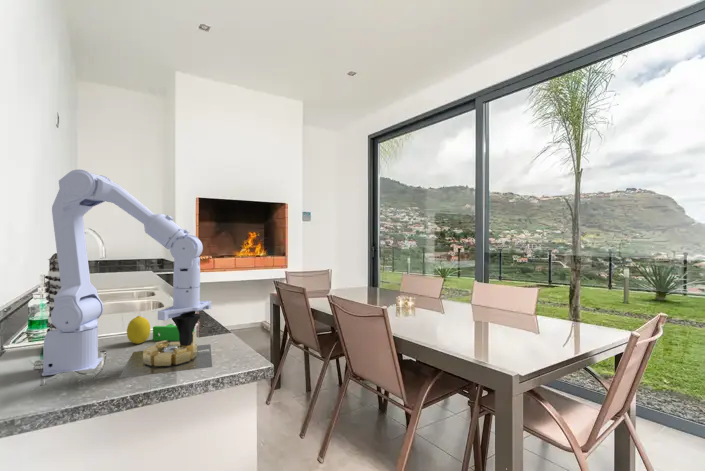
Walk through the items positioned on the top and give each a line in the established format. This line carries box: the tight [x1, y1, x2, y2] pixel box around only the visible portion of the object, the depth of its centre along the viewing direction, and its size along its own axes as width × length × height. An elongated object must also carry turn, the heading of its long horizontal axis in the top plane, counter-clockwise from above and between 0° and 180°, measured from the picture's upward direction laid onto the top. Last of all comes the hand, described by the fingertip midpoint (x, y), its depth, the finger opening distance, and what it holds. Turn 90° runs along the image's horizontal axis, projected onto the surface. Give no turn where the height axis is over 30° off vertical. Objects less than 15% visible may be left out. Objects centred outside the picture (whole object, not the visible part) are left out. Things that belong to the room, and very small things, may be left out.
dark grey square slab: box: [118, 343, 213, 379], centre depth 88 cm, size 18×18×3 cm
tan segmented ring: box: [142, 331, 198, 366], centre depth 88 cm, size 11×11×6 cm
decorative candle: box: [44, 252, 61, 333], centre depth 98 cm, size 9×9×25 cm
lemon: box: [126, 315, 151, 345], centre depth 101 cm, size 6×6×8 cm
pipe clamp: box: [152, 323, 195, 342], centre depth 105 cm, size 11×4×5 cm, turn 89°
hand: (186, 344), depth 87 cm, fingers closed, pressing on tan segmented ring
